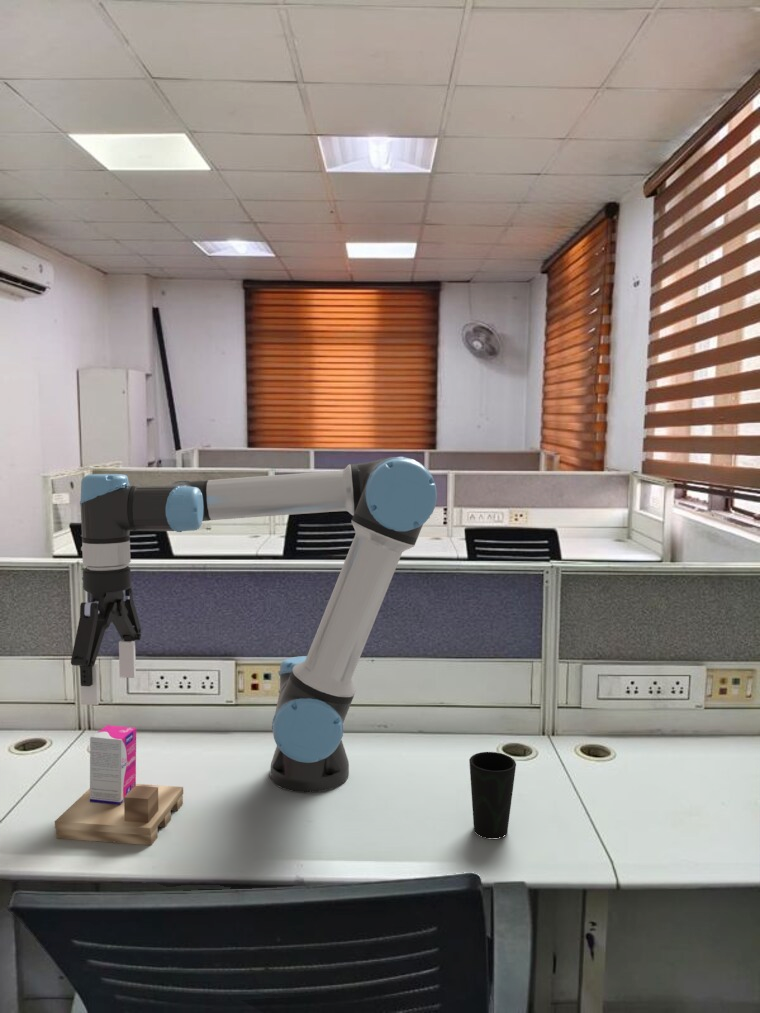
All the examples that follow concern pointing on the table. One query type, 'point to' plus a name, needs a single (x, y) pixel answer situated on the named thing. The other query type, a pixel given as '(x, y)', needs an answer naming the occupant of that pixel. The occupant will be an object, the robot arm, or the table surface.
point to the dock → (116, 819)
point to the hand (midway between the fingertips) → (110, 690)
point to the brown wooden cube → (141, 804)
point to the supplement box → (112, 764)
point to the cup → (491, 792)
